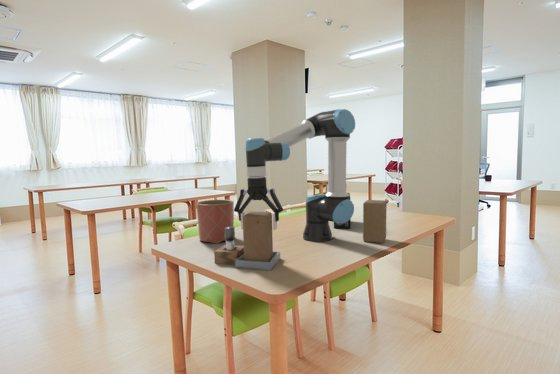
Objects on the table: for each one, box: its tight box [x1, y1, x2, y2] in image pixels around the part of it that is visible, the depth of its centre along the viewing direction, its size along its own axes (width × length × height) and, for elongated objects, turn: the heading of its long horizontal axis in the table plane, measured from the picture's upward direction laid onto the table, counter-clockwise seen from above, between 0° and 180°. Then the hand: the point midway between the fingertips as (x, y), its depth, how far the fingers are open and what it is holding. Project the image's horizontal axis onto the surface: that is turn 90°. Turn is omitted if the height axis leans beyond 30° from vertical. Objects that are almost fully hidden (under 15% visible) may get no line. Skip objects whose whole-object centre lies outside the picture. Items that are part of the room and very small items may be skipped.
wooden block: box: [242, 211, 274, 262], centre depth 136 cm, size 10×10×20 cm
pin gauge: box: [224, 226, 236, 251], centre depth 141 cm, size 4×4×14 cm
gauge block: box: [213, 244, 244, 265], centre depth 141 cm, size 10×10×5 cm
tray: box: [234, 251, 281, 271], centre depth 136 cm, size 15×15×3 cm
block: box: [362, 199, 387, 244], centre depth 167 cm, size 10×10×20 cm
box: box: [333, 192, 352, 229], centre depth 205 cm, size 23×10×19 cm, turn 169°
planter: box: [196, 199, 235, 244], centre depth 175 cm, size 19×19×20 cm
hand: (259, 228), depth 136 cm, fingers open, 13 cm apart
